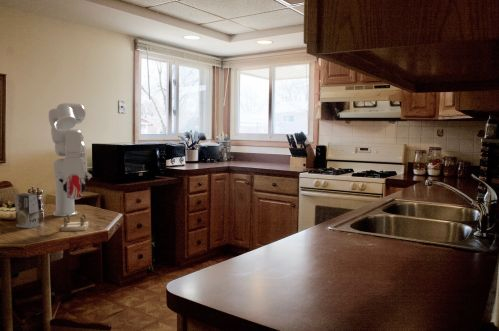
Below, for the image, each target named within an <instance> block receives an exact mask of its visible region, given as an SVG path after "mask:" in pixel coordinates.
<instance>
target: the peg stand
mask: <svg viewBox="0 0 499 331" xmlns="http://www.w3.org/2000/svg"><path fill="white" fill-rule="evenodd" d="M79 219H80V221H71V216H70V215H69V214H68V215H66V216H65V217H63V224H62V225H61V227H60V231H61V232H77V231H87V229H88V227H89V220H88V221H87V213H82V216H81V217H80V218H79Z"/></svg>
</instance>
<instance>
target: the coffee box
mask: <svg viewBox="0 0 499 331" xmlns="http://www.w3.org/2000/svg"><path fill="white" fill-rule="evenodd" d="M39 195H40V194H39V193H28V192H22V193H19V194H15V195H14V204H15V206H14V207H15V227H16V228H24V229H32V228H36V227H40V200H39V199H40V197H39Z"/></svg>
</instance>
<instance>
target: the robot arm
mask: <svg viewBox="0 0 499 331" xmlns="http://www.w3.org/2000/svg"><path fill="white" fill-rule="evenodd" d="M86 112H87V111H86V108H85V106H84V105H83V104H81V103H67V102H66V103H65V102H64V103H63V102H62V103H60V104H58V105H57V106H56V108H51V109H50V110H49V111H48V121H49V125H50V126H51V127H50V135H51V140H52V142H53V143H54V150H55V151H54V152H55V155H56V156H57V157H60V158H59V159H55V160H54V161H53V164H52V165H53V173H54V179H55V211H54V212H53V213H52V214H53V216H54V217H66V215H68V214H69V215H70V217H71V216H76V215H78V211H77V210H75V199H69V198H67V184H66V181H67V178H68V177H69V176H70V175H77V176H78V177H79V178H80V179H81V181H82V193H84V192H85V191H86V184H87V183H88V182H89V181H90V179H91V178H92V177H93V176H92V174H91V173H90V172H88V160H87V159H88V158H87V151H86V150H87V148H86V143H85V142H84V133H83V132H82V131H81V130H80V129H73V128H74V127H76V125H79V124H81V123H83V121H84V119H85V118H86ZM86 176H87V177H86ZM85 178H86V179H85Z"/></svg>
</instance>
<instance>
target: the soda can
mask: <svg viewBox="0 0 499 331" xmlns="http://www.w3.org/2000/svg"><path fill="white" fill-rule="evenodd" d="M66 184H67V198H69V199H74V200H79V199H81V198H82V197H83V192H82V181H81V179H80V178H79V177H78V176H77V175H70V176H69V177H68V178H67V181H66Z"/></svg>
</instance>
